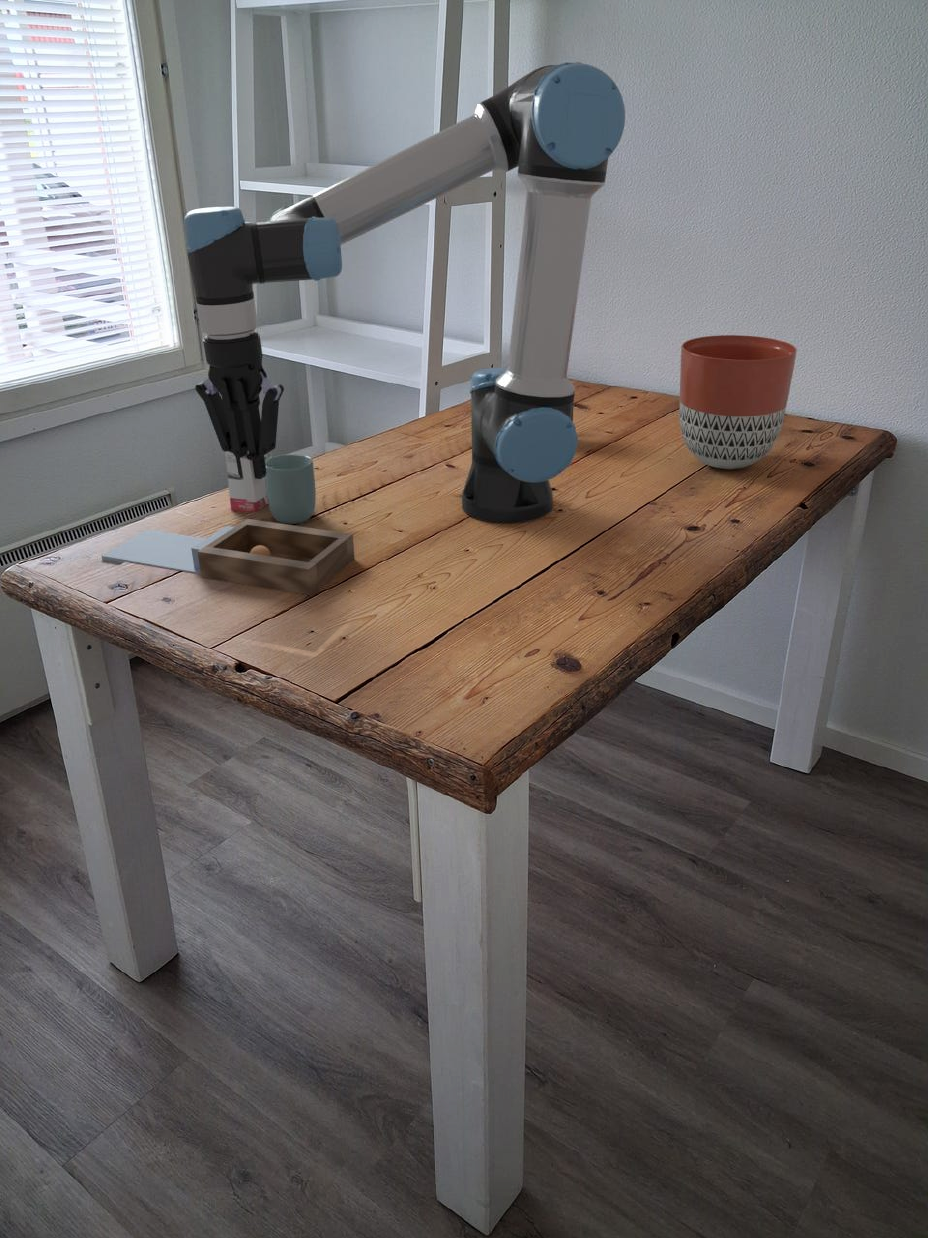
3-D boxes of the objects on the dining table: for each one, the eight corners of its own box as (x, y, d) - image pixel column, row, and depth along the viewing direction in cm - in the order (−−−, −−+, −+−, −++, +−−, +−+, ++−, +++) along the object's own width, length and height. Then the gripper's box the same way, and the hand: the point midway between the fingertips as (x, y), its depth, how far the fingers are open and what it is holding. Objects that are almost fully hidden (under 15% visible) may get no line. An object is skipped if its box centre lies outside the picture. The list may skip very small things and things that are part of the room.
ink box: (259, 514, 166) (250, 445, 161) (230, 513, 167) (221, 444, 162) (277, 496, 174) (270, 429, 168) (250, 494, 175) (242, 428, 169)
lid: (244, 551, 154) (241, 525, 152) (202, 580, 145) (198, 552, 143) (148, 536, 160) (144, 510, 158) (102, 562, 151) (97, 536, 149)
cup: (326, 514, 166) (321, 456, 161) (304, 531, 159) (298, 471, 155) (284, 509, 168) (278, 452, 164) (261, 526, 162) (254, 467, 157)
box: (354, 561, 149) (352, 533, 147) (311, 598, 138) (308, 569, 136) (250, 545, 155) (247, 518, 153) (201, 580, 144) (197, 551, 142)
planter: (661, 475, 180) (671, 355, 170) (683, 443, 195) (692, 332, 186) (773, 488, 173) (790, 363, 163) (786, 454, 189) (802, 338, 179)
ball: (275, 562, 148) (273, 543, 146) (264, 570, 145) (262, 551, 144) (258, 559, 149) (255, 541, 147) (247, 567, 146) (244, 548, 145)
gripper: (287, 327, 134) (308, 493, 145) (205, 325, 139) (232, 485, 150) (257, 340, 128) (282, 512, 139) (173, 337, 133) (203, 503, 144)
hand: (256, 498), depth 145 cm, fingers closed
